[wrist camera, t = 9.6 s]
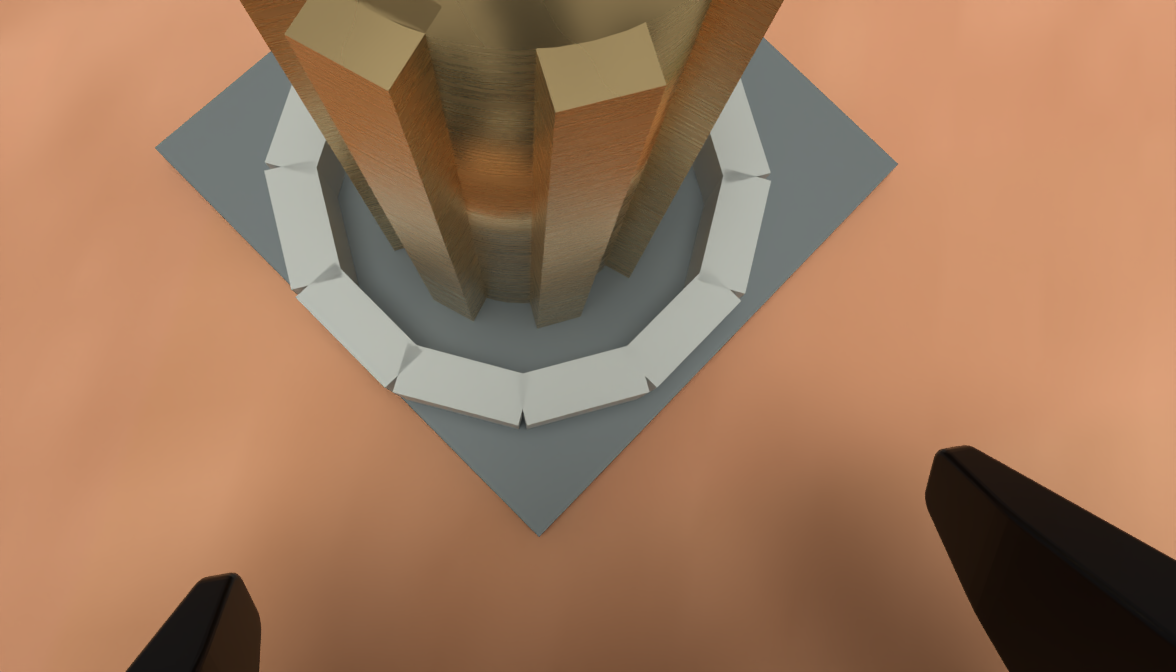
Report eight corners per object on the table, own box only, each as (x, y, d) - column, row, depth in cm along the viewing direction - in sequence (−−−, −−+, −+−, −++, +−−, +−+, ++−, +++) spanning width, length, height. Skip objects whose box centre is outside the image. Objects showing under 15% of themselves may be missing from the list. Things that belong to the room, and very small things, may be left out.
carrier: (886, 173, 19) (941, 129, 17) (538, 534, 17) (541, 546, 15) (540, -154, 20) (541, -244, 18) (166, 158, 18) (107, 107, 16)
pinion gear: (699, 148, 19) (942, -293, 8) (575, 376, 17) (656, 236, 7) (470, 24, 19) (392, -587, 8) (331, 244, 18) (19, -111, 7)
